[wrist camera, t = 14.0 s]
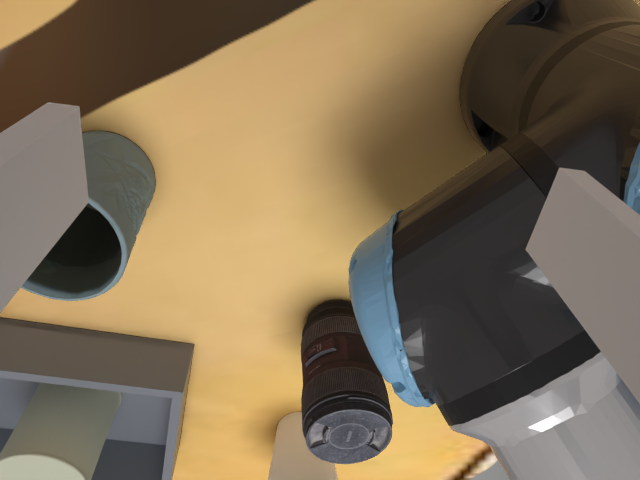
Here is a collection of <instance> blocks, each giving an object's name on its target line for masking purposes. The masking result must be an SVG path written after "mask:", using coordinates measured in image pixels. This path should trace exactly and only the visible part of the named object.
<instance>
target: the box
mask: <svg viewBox="0 0 640 480" xmlns="http://www.w3.org/2000/svg"><path fill="white" fill-rule="evenodd" d="M193 350H194V344H189V343H182V342H175V341H167V340H160V339H153V338H146V337H138V336H131V335H124V334H117V333H110V332H102V331H95V330H88V329H81V328H73V327H66V326H59V325H52V324H44V323H37V322H30V321H23V320H15V319H8V318H1V317H0V453H1V451H2V450H3V448H4V446H5V444H6V443H7V441H8V439H9V438H10V436H11V434H12V432H13V431H14V429H15V427H16V425H17V423H18V422H19V420H20V418H21V416H22V415H23V413H24V411H25V409H26V407H27V406H28V404H29V402H30V400H31V398H32V396H33V395H34V393H35V391H36V389H37V387H38V384H39V382H41V383H50V384H58V385H66V386H75V387H83V388H91V389H100V390H108V391H116V392H121V395H122V400H121V404H120V406H119V408H118V409H117V411H116V414H115V416H114V418H113V421H112V424H111V426H110V429H109V432H108V434H107V437H106V440H105V442H104V445H103V448H102V451H101V453H100V456H99V459H98V462H97V465H96V467H95V470H94V473H93V476H92V479H91V480H172V477H173V473H174V468H175V463H176V459H177V454H178V450H179V445H180V438H181V432H182V425H183V418H184V411H185V404H186V398H187V391H188V384H189V377H190V370H191V364H192V357H193Z"/></svg>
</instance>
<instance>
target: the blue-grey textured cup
mask: <svg viewBox="0 0 640 480" xmlns="http://www.w3.org/2000/svg"><path fill="white" fill-rule="evenodd" d="M82 138H83V148H84V158H85V168H86V179H87V189H88V199H89V202H88V204H87V205H86V206H85V207H84V209H83V210H82V211H81V212H80V214H79V215H78V216H77V217H76V219H75V220H74V221H73V222H72V224H71V225H70V226H69V227H68V229H67V230H66V231H65V233H64V234H63V235H62V236H61V238H60V239H59V240H58V241H57V243H56V244H55V245H54V246H53V248H52V249H51V250H50V251H49V253H48V254H47V255H46V256H45V258H44V259H43V260H42V261H41V263H40V264H39V265H38V266H37V268H36V269H35V270H34V271H33V273H32V274H31V275H30V276H29V278H28V279H27V280H26V281H25V283H24V284H23V285H22V286H21V288H22V289H25V290H27V291H29V292H31V293H34V294H38V295H41V296H44V297H47V298H51V299H57V300H65V301H76V300H84V299H90V298H93V297H96V296H98V295H101V294H103V293H105V292H107V291H108V290H110V289H111V288H112V287H113V286H114V285H115V284H116V283H117V282H118V281H119V280H120V278H121V277H122V275H123V273H124V270H125V268H126V265H127V262H128V260H129V257H130V254H131V251H132V248H133V246H134V243H135V241H136V235H137V234H138V232H139V230H140V227H141V225H142V222H143V220H144V217H145V214H146V210H147V208H148V207H149V205H150V202H151V200H152V197H153V194H154V191H155V181H156V180H155V173H154V170H153V166H152V164H151V162H150V160H149V159H148V157H147V156H146V154H145V153H144V152H143V151H142V150H141V149H140V148H139V147H138V146H137V145H136V144H135V143H133V142H132V141H130V140H129V139H127V138H125V137H123V136H120V135H118V134H115V133H111V132H106V131H90V132H85V133H82Z"/></svg>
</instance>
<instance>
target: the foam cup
mask: <svg viewBox="0 0 640 480" xmlns="http://www.w3.org/2000/svg"><path fill="white" fill-rule="evenodd" d="M268 480H338V477H337V473H336V468H335V464H334V463H330V462H327V461H324V460H321V459H319V458H317V457H316V456H315V455H313V454H312V453H311V452H310V451H309V449H308V447H307V445H306V439H305V438H304V435H303V431H302V412H293V413H291V414H289V415H286V416H284V417H283V418H282V419H281V420H280V421H279V422H278V427H277V432H276V437H275V443H274V449H273V454H272V460H271V466H270V471H269V477H268Z"/></svg>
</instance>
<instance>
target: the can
mask: <svg viewBox="0 0 640 480" xmlns="http://www.w3.org/2000/svg"><path fill="white" fill-rule="evenodd" d="M121 400H122V395H121V392H116V391H108V390H100V389H91V388H83V387H75V386H66V385H58V384H50V383H41V382H39V384H38V387H37V389H36V391H35V393H34V395H33V396H32V398H31V400H30V402H29V404H28V406H27V407H26V409H25V411H24V413H23V415H22V416H21V418H20V420H19V422H18V423H17V425H16V427H15V429H14V431H13V432H12V434H11V436H10V438H9V439H8V441H7V443H6V444H5V446H4V448H3V450H2V451H1V453H0V480H91V479H92V476H93V473H94V470H95V467H96V465H97V462H98V459H99V456H100V453H101V451H102V448H103V445H104V442H105V440H106V437H107V434H108V432H109V429H110V426H111V424H112V421H113V418H114V416H115V414H116V411H117V409H118V408H119V406H120V404H121Z"/></svg>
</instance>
